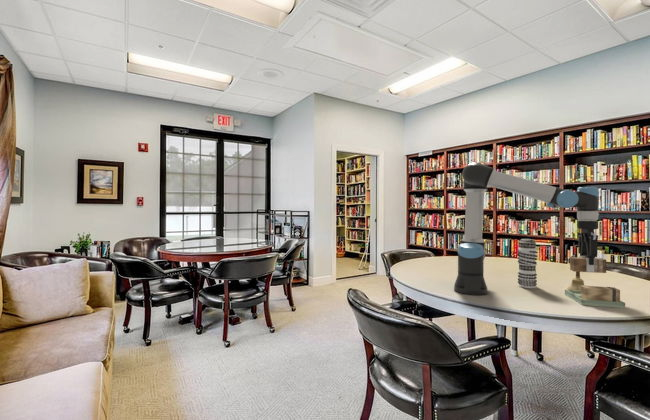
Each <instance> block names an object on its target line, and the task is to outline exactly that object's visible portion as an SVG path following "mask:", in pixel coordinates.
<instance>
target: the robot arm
mask: <svg viewBox="0 0 650 420" xmlns="http://www.w3.org/2000/svg"><path fill="white" fill-rule="evenodd" d="M461 174H462V178H463V186H462V187H463V191H464V192H465V212H464V213H465V216H464V217H465V218H464V237H463V238H462V239H461V241H460V242H461V243H460V244H459V245H458V247H457V277H456V279H455V282H454V286H453V290H454V292H457V293H459V294H463V295H464V294H465V295H470V296H482V295H487V294H488V286H487V283H486V280H485V278H484V277H485V276H484V264H485V263H484V262H485V261H484V260H485V258H486V241H485V240H484V239H483V224H484V223H483V222H484V204H485V203H484V202H485V200H484V199H485V193H486V192H487V191H488V188H489V187H491V188H492V187H493V188H496V189H499V190H503V191H507V192H510V193H513V194H517V195H520V196H524V197H527V198H531V199H534V200H538V201H541V202H544V203H545V205H546V207H547V208H553V209H556V208H557V209H558V208H559V209H560V208H564V209H570V208H573V209H574V208H576V219H577V224H576V228H577V229H580V231H581V232H578V233H577V237H578V241H577V242H578V254H580V257H581V258H586V272H585V273H594V258H598V239H599V235H598V234H596V233H595V230H598V229H599V221H598V220H599V216H600V213H599V198H600V196H599V189H598V187H596V186H582V187H581V186H579V187H577V190H576V191H573V190H571V189H564V188H559V187H556V186H552V185H549V184H545V183H542V182H537V181H535V180H531V179H526V178H523V177H520V176H517V175H512V174H509V173H505V172H500V171H497V170H496V168H495V167H491V166H488V165H485V164H482V163H481V162H471V163H469V164H467V165H465V167H464V168H463V170H462V173H461Z"/></svg>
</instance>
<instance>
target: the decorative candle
mask: <svg viewBox="0 0 650 420" xmlns="http://www.w3.org/2000/svg"><path fill="white" fill-rule="evenodd" d="M518 243H519V244H518V250H517V251H516V253H517V256H518V257H517V264H518V272H517V274H518V275H517V277H518V278H517V280H518V281H517V286H518V287H520V288H526V289H536V288H537V284H538V283H537V281H538V280H537V275H538V274H537V266H538V264H537V263H538V262H537V260H538V258H537V257H538V255H537V254H538V253H539V252H538V251H537V242H536V241H535V239H533V238H532V239H531V238H520V240H519V241H518Z"/></svg>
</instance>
